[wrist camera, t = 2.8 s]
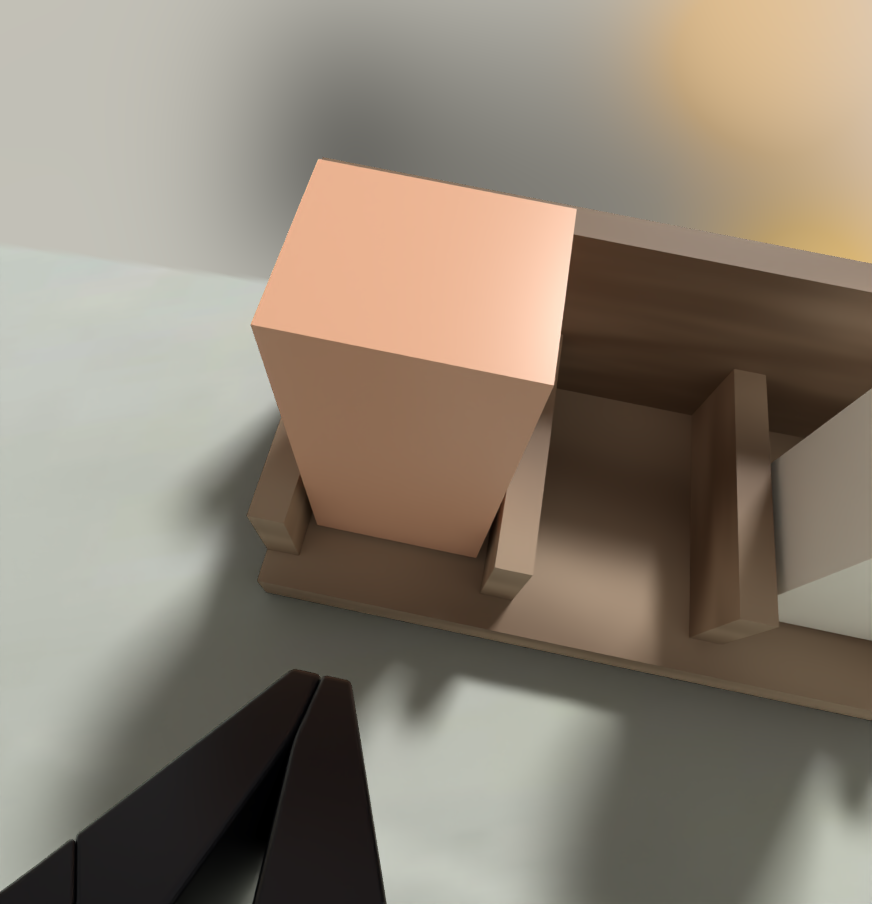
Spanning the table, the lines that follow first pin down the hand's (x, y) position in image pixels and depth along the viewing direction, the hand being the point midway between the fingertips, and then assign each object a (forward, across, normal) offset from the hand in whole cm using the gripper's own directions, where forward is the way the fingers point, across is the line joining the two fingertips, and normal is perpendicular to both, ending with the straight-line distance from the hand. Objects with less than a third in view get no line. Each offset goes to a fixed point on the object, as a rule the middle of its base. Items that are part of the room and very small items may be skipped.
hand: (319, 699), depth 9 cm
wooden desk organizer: (+13, -7, +2) cm, 15 cm away
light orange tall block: (+12, 0, +1) cm, 12 cm away
